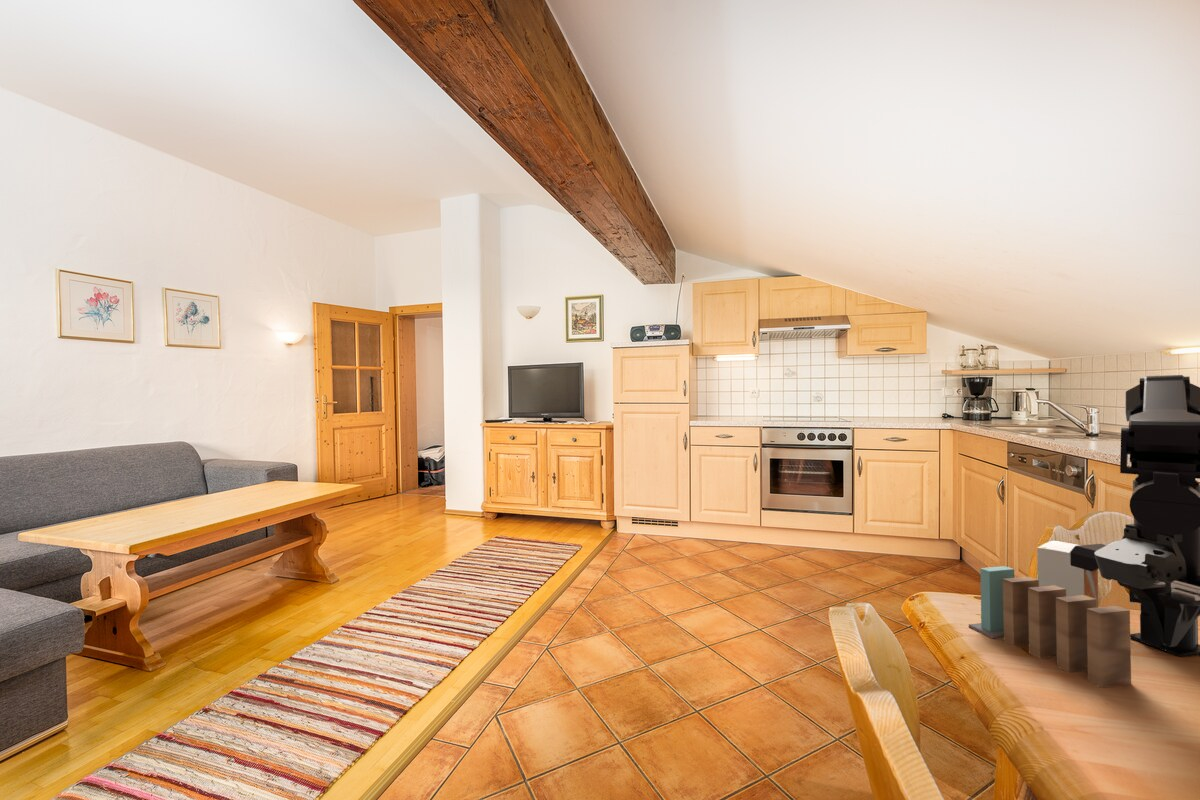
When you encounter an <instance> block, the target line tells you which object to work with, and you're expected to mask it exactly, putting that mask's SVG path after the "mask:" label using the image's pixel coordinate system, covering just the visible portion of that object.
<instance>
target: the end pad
mask: <svg viewBox="0 0 1200 800" xmlns="http://www.w3.org/2000/svg"><path fill="white" fill-rule="evenodd" d="M968 627H969V628H971V629H973V630H974V629H975V631H976V630H977V632H979V633H981V634H983V635H985V636H987V637H989V638H991V639H1001V638H1004V630H1001V631H992V632H990V631H988V630H986V629H984V628H981V622H980V623H979V622H978V623H977V622H976V623H970V624H968Z"/></svg>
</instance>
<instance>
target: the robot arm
mask: <svg viewBox="0 0 1200 800" xmlns="http://www.w3.org/2000/svg"><path fill="white" fill-rule="evenodd" d="M1125 418H1126V422H1128V427H1121V428H1120V455H1119V456H1120V458H1119V459H1120V461H1119V463H1120V464H1119V465H1120V467H1119V472H1120V473H1119V474H1122V475H1123V474H1124V475H1125V474H1126V475H1137V476H1136V477H1135V478H1134V479H1133V480H1132V494H1131V497H1130V499H1129V509H1130V513H1131V514H1132V517H1133V523H1130V524H1129V523H1127V524H1125V528H1123V536H1122V538H1121V539H1120V540H1115V541H1112V542H1110V543H1109V544H1104V543H1103V544H1102V543H1094V544H1093V543H1092V544H1081V545H1080V544H1077V545H1078V546H1075V547H1074V548H1073V549H1072V550H1071V551H1070V553H1069V556H1070V565H1071V566H1074V567H1078V568H1081V569H1085V570H1088V571H1096V570H1097V569H1098V570H1099V573H1100V576H1101V578H1103V579H1105V580H1108V581H1111V580H1113V581H1116V582H1117V584H1118V585H1119V586H1121V587H1123V588H1126V589H1127V590H1128V593H1129V603H1136V604H1140V608H1139V609H1140V614H1139V632H1135V633H1130V639H1133V640H1135V641H1139V642H1141V643H1144V644H1146V645H1149V646H1151V647H1154V648H1157V649H1160V650H1163V651H1165V652H1167V653H1169V654H1172V655H1174V656H1178V657H1179V656H1180V657H1185V656H1186V657H1187V656H1193V655H1200V644H1199V623H1198V622H1199V620H1198V619H1199V616H1200V482H1199V481H1198V480H1200V386H1197V385H1196V384H1193V383H1191V381H1190V376H1189V375H1188V376H1184V375H1183V374H1171V375H1169V374H1168V375H1146V376H1145V377H1139V384H1137V385H1136V386H1134V387H1131V388H1130V389H1128V390H1126V391H1125ZM1128 457H1129V461H1128ZM1128 462H1130V466H1128Z"/></svg>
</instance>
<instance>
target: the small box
mask: <svg viewBox="0 0 1200 800" xmlns="http://www.w3.org/2000/svg"><path fill="white" fill-rule="evenodd" d="M1078 545H1079V544H1076V543H1071V542H1065V541H1057V540H1051V541H1048V542H1045V543H1043V544H1042V545H1039V546H1038V547H1037V548H1036V561H1037V562H1036V567H1037V571H1036V573H1037V575H1036V576H1037V578H1036V579H1037V580H1039V587H1042V586H1053V585H1055V586H1058V587H1061V588H1064V589H1066V597H1068V596H1078V595H1085V596H1088V597H1091V598H1094V599H1096V608H1098V607H1099V574H1098V573H1099V571H1098V570H1099V569H1097V570H1096V571H1088V570H1085V569H1081V568H1078V567H1074V566H1071V565H1070V556H1069V553H1070V551H1071V550H1072V549H1073V548H1074V547H1075V546H1078Z"/></svg>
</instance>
